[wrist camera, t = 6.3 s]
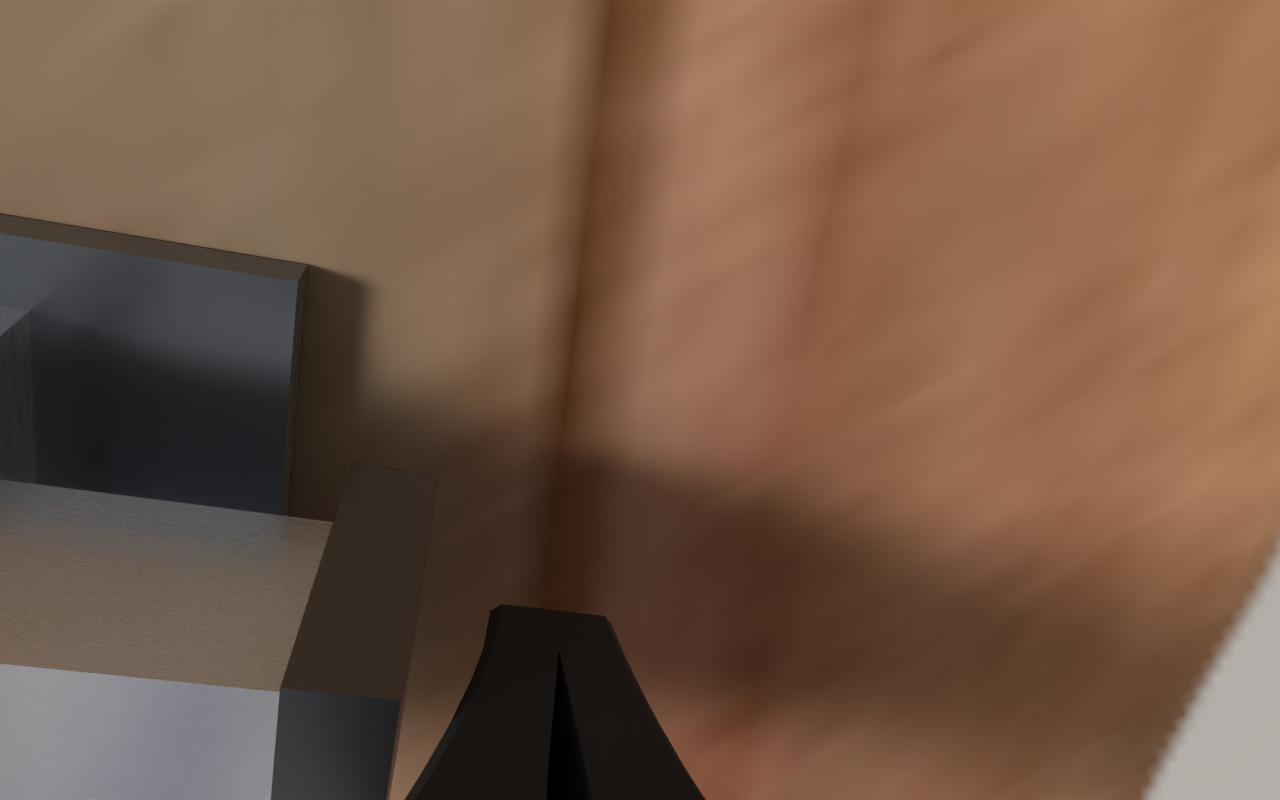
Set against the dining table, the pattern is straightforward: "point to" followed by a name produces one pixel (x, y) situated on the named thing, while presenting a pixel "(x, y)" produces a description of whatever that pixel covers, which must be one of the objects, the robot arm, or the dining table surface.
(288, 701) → the shaft
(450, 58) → the dining table surface
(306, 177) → the dining table surface
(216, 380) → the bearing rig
